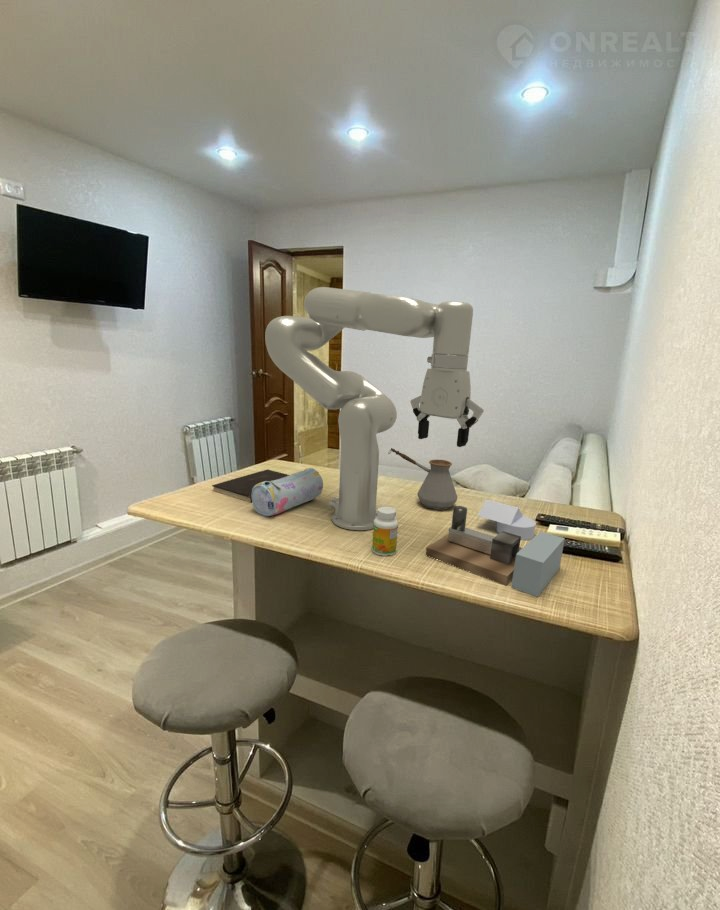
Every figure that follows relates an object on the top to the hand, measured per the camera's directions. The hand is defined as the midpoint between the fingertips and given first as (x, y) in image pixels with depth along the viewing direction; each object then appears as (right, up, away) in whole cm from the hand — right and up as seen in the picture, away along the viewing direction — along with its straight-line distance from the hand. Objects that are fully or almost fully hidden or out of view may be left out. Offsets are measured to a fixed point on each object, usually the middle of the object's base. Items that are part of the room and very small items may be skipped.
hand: (441, 442), depth 99 cm
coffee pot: (0, -17, +33) cm, 37 cm away
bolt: (+7, -23, -1) cm, 24 cm away
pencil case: (-38, -17, +24) cm, 48 cm away
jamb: (+18, -28, -8) cm, 34 cm away
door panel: (+8, -25, -1) cm, 27 cm away
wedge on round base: (+19, -22, +15) cm, 33 cm away
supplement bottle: (-13, -24, 0) cm, 28 cm away
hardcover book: (-49, -14, +38) cm, 64 cm away
